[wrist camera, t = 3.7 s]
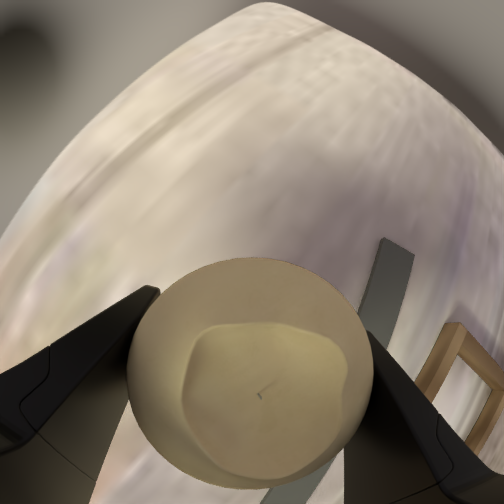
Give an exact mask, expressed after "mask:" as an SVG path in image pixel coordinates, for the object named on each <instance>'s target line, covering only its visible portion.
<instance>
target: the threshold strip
mask: <svg viewBox="0 0 504 504" xmlns="http://www.w3.org/2000/svg"><path fill="white" fill-rule="evenodd" d="M414 256H415V255H414V254H412V253H411V252H409V251H407V250H406V249H404V248H402V247H400V246H399V245H397V244H395V243H393V242H392V241H390V240H388V239H386V238H383V239H381V242H380V246H379V249H378V253H377V256H376V259H375V263H374V266H373V269H372V272H371V275H370V278H369V281H368V284H367V287H366V290H365V293H364V296H363V299H362V302H361V305H360V308H359V310H358V313H357V315H358V316H359V318H360V320H361V322H362V324H363V326H364V328H365V330H368V331H370V332H371V333H372V334H373V335H374V336H375V338H376V339H377V340H378V341H379V342H380V343H381V344H382V346H383V347H384V348H385V349H387V346H388V344H389V341H390V338H391V335H392V332H393V329H394V327H395V324H396V321H397V317H398V314H399V311H400V308H401V305H402V301H403V298H404V295H405V291H406V287H407V284H408V280H409V276H410V272H411V268H412V264H413V260H414ZM335 457H336V456H335ZM335 457H334V458H335ZM334 458H332V459H331V460H330V461H329V462H328V463H326V464H325V465H324V466H322V467H321V468H319V469H318V470H316V471H315V472H313V473H311V474H309V475H307V476H305V477H303V478H301V479H298V480H296V481H293V482H290V483H288V484H284V485H280V486H276V487H272V488H270V489H269V491H268V492H267V494H266V495H265V497H264V498H263V500H262V501H261V503H260V504H305V503H306V502H307V500H308V499H309V497H310V496H311V494H312V493H313V491H314V490H315V489H316V487H317V486H318V484H319V483H320V481H321V479H322V478H323V476H324V475H325V473H326V472H327V470H328V468H329V467H330V465H331V463H332V462H333V460H334Z"/></svg>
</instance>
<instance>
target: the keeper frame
mask: <svg viewBox="0 0 504 504" xmlns="http://www.w3.org/2000/svg"><path fill="white" fill-rule="evenodd" d="M457 354H458V355H459V356H460V357H461V358H462V359H463V360H464V361H465V362H466V363H467V364H468V365H469V366H470V367H471V368H472V369H473V370H474V371H475V372H476V373H477V374H478V375H479V376H480V377H481V378H482V379H483V380H484V381H485V382H486V383H487V384H488V385H489V387H490V388H491V389H492V392H491V394H490V396H489V398H488V400H487V402H486V405H485V407H484V409H483V410H482V412H481V414H480V416H479V418H478V420H477V422H476V424H475V425H474V427H473V429H472V431H471V432H470V434H469V436H468V438H467V439H466V441H465V444H466V445H467V446H468V447H469V448H470V449H471V450H472V451H473V452H474V453H475V454H476V455H477V456H478V454H479V453H480V451H481V449H482V448H483V446H484V444H485V442H486V441H487V439H488V437H489V435H490V434H491V432H492V430H493V428H494V426H495V424H496V422H497V420H498V418H499V416H500V414H501V412H502V410H503V408H504V372H503V370H502V369H501V368H500V367H499V365H498V364H497V363H496V362H495V361H494V360H493V358H492V357H491V356H490V355H489V354H488V353H487V351H486V350H485V349H484V348H483V347H482V346H481V345H480V343H479V342H478V341H477V340H476V339H475V338H474V337H473V336H472V335H471V334H470V333H469V331H468V330H467V329H466V328H465V327H464V326H463V325H462V324H461V323H460V322H457V323H445V324H444V327H443V329H442V331H441V333H440V335H439V337H438V339H437V341H436V343H435V345H434V347H433V349H432V351H431V353H430V355H429V357H428V359H427V361H426V363H425V365H424V366H423V368H422V370H421V372H420V374H419V375H418V377H417V379H416V381H415V382H414V383H415V384H416V385H417V387H418V388H419V389H420V390H421V391H422V393H423V394H424V395H425V396H426V397H427V399H428V400H429V401H430V402H431V403H432V401H433V400H434V398H435V396H436V394H437V393H438V391H439V389H440V387H441V385H442V384H443V382H444V380H445V378H446V376H447V374H448V372H449V370H450V368H451V366H452V364H453V362H454V360H455V358H456V356H457Z"/></svg>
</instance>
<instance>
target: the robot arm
mask: <svg viewBox="0 0 504 504" xmlns="http://www.w3.org/2000/svg"><path fill="white" fill-rule="evenodd" d="M160 295H161V292H160V289H159V288H157V287H153V286H149V285H145V286H143V287H141V288H140V289H138V290H136V291H135V292H133V293H131V294H130V295H128V296H127V297H125V298H123V299H122V300H120V301H118V302H117V303H115V304H114V305H112V306H110V307H109V308H107V309H105V310H104V311H102V312H101V313H99V314H97V315H96V316H94V317H93V318H91V319H89V320H88V321H86V322H85V323H83V324H82V325H80V326H78V327H77V328H75V329H74V330H72V331H70V332H69V333H67V334H66V335H64V336H63V337H61V338H60V339H58V340H56V341H55V342H53V343H52V344H51V345H50V346H47V347H45V348H44V349H42V350H41V351H39V352H38V353H36V354H35V355H33V356H31V357H30V358H28V359H26V360H25V361H23V362H22V363H20V364H18V365H16V366H14V367H12V368H11V369H9V370H7V371H5V372H3V373H1V374H0V504H89V502H90V499H91V496H92V493H93V490H94V487H95V484H96V482H95V481H97V478H98V476H99V473H100V470H101V468H102V465H103V462H104V460H105V457H106V454H107V452H108V449H109V447H110V444H111V441H112V439H113V436H114V434H115V431H116V429H117V426H118V424H119V422H120V419H121V417H122V414H123V412H124V409H125V407H126V405H127V402H128V400H129V397H128V390H127V382H126V374H127V360H128V354H129V349H130V346H131V342H132V339H133V336H134V334H135V331H136V329H137V327H138V325H139V323H140V321H141V319H142V318H143V316H144V315H145V313H146V312H147V310H148V309H149V307H150V306H151V305H152V304H153V303H154V301H155V300H156V299H157V298H158V297H159V296H160ZM366 333H367V336H368V339H369V342H370V346H371V351H372V357H373V385H372V392H371V396H370V400H369V404H368V407H367V410H366V412H365V415H364V417H363V419H362V421H361V423H360V425H359V427H358V429H357V431H356V432H355V433H354V435H353V436H352V438H351V439H350V441H349V442H348V443H347V444H346V445H345V447H344V504H504V475H502V474H498V473H496V472H494V471H492V470H491V469H489V468H488V467H487V466H486V465H485V464H484V463H483V462H482V461H481V460H480V459H479V458H478V456H477V455H476V454H475V453H474V452H473V451H472V450H471V449H470V448H469V447H468V446H467V445H466V444H465V443H464V441H463V440H462V439H461V438H460V437H459V436H458V435H457V434H456V433H455V431H454V430H453V429H452V428H451V427H450V425H449V424H448V423H447V422H446V421H445V419H444V418H443V417H442V416H441V414H439V413H438V411H437V410H436V408H435V407H434V406H433V405H432V403H431V402H430V401H429V400H428V399H427V397H426V396H425V395H424V394H423V393H422V391H421V390H420V389H419V388H418V387H417V385H416V384H415V383H414V382H413V381H412V379H411V378H410V377H409V376H408V375H407V373H406V372H405V371H404V370H403V369H402V368H401V366H400V365H399V364H398V363H397V362H396V361H395V359H394V358H393V357H392V356H391V355H390V354H389V352H388V351H387V350H386V349H385V348H384V347H383V346H382V344H381V343H380V342H379V341H378V340H377V339H376V338H375V336H374V335H373V334H372V333H371V332H370V331H368V330H366Z"/></svg>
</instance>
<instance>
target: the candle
mask: <svg viewBox="0 0 504 504" xmlns="http://www.w3.org/2000/svg"><path fill="white" fill-rule="evenodd" d="M126 382H127V390H128V397H129V401H130V404H131V408H132V411H133V414H134V416H135V418H136V421H137V423H138V425H139V427H140V429H141V430H142V432H143V433H144V435H145V437H146V438H147V440H148V441H149V442H150V443H151V445H152V446H153V447H154V448H155V449H156V451H157V452H158V453H159V454H161V455H162V456H163V457H164V458H165V459H166V460H167V461H168V462H169V463H171V464H172V465H174V466H175V467H176V468H178V469H179V470H181V471H182V472H184V473H186V474H188V475H190V476H192V477H194V478H196V479H198V480H201V481H204V482H206V483H209V484H213V485H217V486H221V487H225V488H233V489H264V488H272V487H276V486H280V485H284V484H288V483H290V482H293V481H296V480H298V479H301V478H303V477H305V476H307V475H309V474H311V473H313V472H315V471H316V470H318V469H319V468H321V467H322V466H324V465H325V464H326V463H328V462H329V461H330V460H331V459H332V458H334V457H335V456H336V455H337V454H338V453H339V452H340V451H341V450H342V449H343V448H344V447H345V445H346V444H347V443H348V442H349V441H350V439H351V438H352V436H353V435H354V433H355V432H356V431H357V429H358V427H359V425H360V423H361V421H362V419H363V417H364V415H365V412H366V410H367V407H368V404H369V400H370V396H371V392H372V385H373V357H372V351H371V346H370V342H369V339H368V336H367V333H366V330H365V328H364V326H363V324H362V322H361V320H360V318H359V316H358V315H357V313H356V312H355V310H354V309H353V307H352V306H351V304H350V303H349V302H348V301H347V300H346V299H345V297H344V296H343V295H342V294H341V293H340V292H339V291H338V290H337V289H335V288H334V287H333V286H332V285H331V284H330V283H328V282H327V281H325V280H324V279H322V278H321V277H319V276H318V275H316V274H314V273H312V272H310V271H308V270H306V269H304V268H302V267H300V266H297V265H294V264H291V263H288V262H284V261H279V260H274V259H267V258H236V259H231V260H225V261H220V262H217V263H213V264H210V265H207V266H204V267H202V268H200V269H198V270H195V271H193V272H191V273H189V274H187V275H186V276H184V277H183V278H181V279H179V280H178V281H176V282H175V283H173V284H172V285H171V286H170V287H169V288H168V289H166V290H165V291H164V292H163V293H162V294H161V295H160V296H159V297H158V298H157V299H156V300H155V301H154V303H153V304H152V305H151V306H150V307H149V309H148V310H147V312H146V313H145V315H144V316H143V318H142V319H141V321H140V323H139V325H138V327H137V329H136V331H135V334H134V336H133V339H132V342H131V346H130V349H129V354H128V360H127V374H126Z"/></svg>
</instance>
